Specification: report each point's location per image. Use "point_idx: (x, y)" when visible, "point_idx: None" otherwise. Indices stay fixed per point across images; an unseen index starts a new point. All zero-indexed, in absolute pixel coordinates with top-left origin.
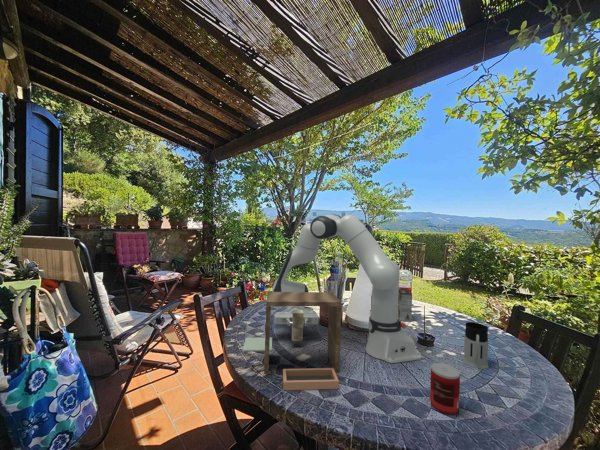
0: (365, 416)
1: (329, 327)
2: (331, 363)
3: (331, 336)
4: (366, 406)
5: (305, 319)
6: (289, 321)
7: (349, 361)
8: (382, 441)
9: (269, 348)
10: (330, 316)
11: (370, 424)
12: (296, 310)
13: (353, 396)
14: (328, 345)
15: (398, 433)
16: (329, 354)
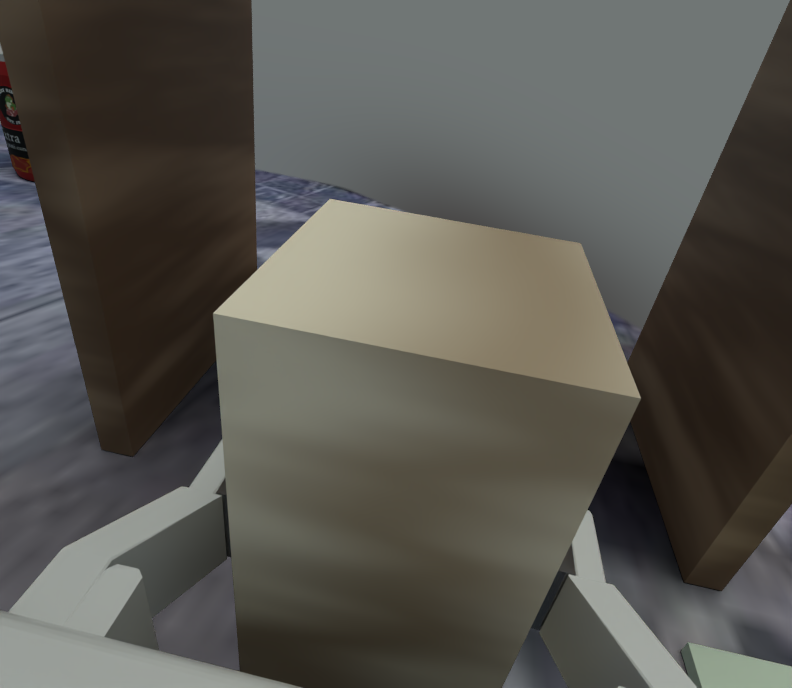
0: (309, 207)
1: (120, 177)
2: (215, 358)
3: (184, 198)
4: (279, 216)
5: (120, 569)
6: (594, 551)
7: (72, 350)
8: (321, 184)
9: (728, 683)
10: (119, 17)
11: (314, 199)
12: (477, 320)
13: (287, 237)
14: (139, 362)
15: (272, 181)
16: (175, 377)
